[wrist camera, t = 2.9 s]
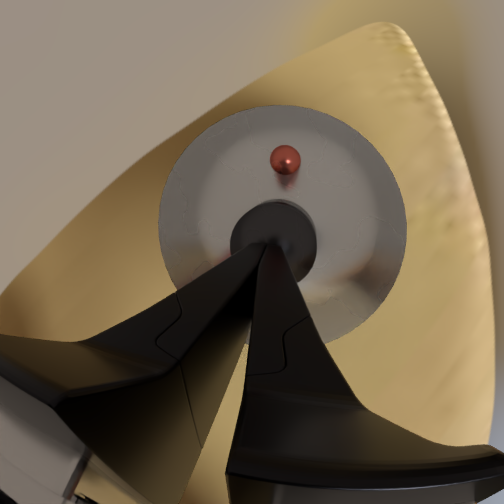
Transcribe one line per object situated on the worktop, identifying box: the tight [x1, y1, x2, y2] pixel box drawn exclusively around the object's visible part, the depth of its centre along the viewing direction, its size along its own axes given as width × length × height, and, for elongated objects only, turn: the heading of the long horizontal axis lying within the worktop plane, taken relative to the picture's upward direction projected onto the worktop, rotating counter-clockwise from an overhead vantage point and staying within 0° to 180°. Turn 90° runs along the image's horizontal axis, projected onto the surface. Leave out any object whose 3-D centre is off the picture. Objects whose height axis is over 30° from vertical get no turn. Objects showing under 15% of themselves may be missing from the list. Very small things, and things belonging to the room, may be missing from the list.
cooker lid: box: [158, 105, 407, 345], centre depth 11 cm, size 10×10×3 cm
